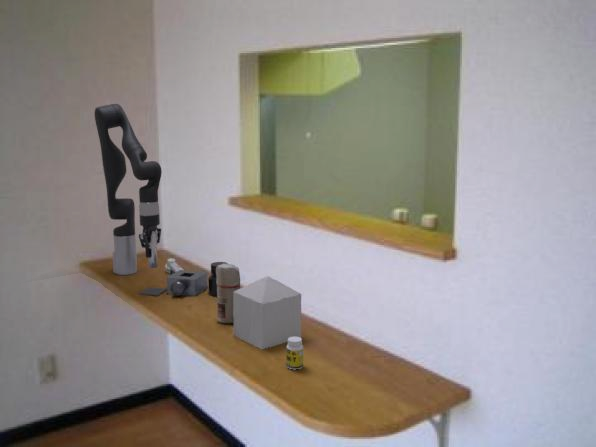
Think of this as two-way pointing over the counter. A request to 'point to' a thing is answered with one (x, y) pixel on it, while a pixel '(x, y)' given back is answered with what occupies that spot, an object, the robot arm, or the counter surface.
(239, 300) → the decorative block
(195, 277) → the block
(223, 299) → the spray can
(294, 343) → the supplement bottle
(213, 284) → the ink bottle
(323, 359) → the counter surface
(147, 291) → the key rest mat
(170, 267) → the white elongated piece
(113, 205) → the robot arm
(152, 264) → the grey metal cylinder
